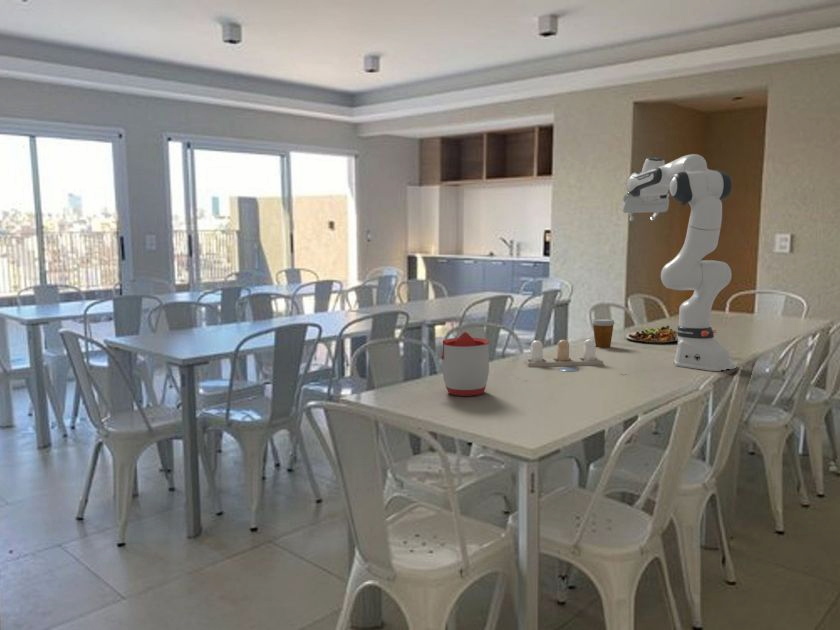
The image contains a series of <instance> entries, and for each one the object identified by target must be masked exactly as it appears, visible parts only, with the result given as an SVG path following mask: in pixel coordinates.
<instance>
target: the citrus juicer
mask: <svg viewBox="0 0 840 630" xmlns="http://www.w3.org/2000/svg"><path fill="white" fill-rule="evenodd" d="M489 345H490V340H489V339H486V338H481V337H472V336H471V334H469V333H468V332H466V331H464V332H463V333H462V334H460V335H459V337H455V338H454V337H453V338H452V337H451V338H446V339H443V340H442V350H440V351H438V352H437V354H436V356H435V359H440V358H441V360H442V361H441V362H442V363H441V367H442V369H441V370H442V375H443V376H442V377H443V381H444V384H445V389H446V391H447V392H448V394H450V395H453V396H454V395H459V396H458V397H460V396H461V397H467V396H470V397H471V396H473V395H478V396H480V395H481V394H483V393H484V392H485V391H486V390H485V389H486V387H487V383H488V378H489V374H490V373H489V371H490V370H489V369H490V368H489V367H490V351H489V349H490V347H489Z"/></svg>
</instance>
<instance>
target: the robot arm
mask: <svg viewBox="0 0 840 630" xmlns="http://www.w3.org/2000/svg"><path fill="white" fill-rule="evenodd" d="M707 163H708V162H707V161H706V159H705V158H704V156H702V155H700V154H697V153H692V154H686V155H684V156H681V157H679V158H676V159H674V160H672V161H670V162H668V163H665V159H664V158H663V157H659V156H648V157H646V159H645V160H644V163H643V166H642V169H641V172H638V171H636V172H635V171H634V172H633V173H631V174H630V175H629V177H628V178H627V180H626V190H627V193H625V194H624V195H623V199H622V204H621V211H622V212H623V213H624V214H628V215H629V221H630V222H634V221H635V216H634V213H636V214H638V213H639V214H641V213H653V214H652V215H650V221H653V222H654V221H655V220H656V217H657V216H658V215H659V213H666V212H668V211H669V210H668V209H669V205H670V199H669V197H671V198H673V200H674V201H676V202H678V203H680V204H681V205H682V206H683V207H684V206H686V205H688V204H689V206H690V214H689V219H688V224H687V230H686V234H685V239H684V243H683V245H682V248H681V249H680V251H679V252H678V253H677V255H676V256H675V257H674V258H673V259H672V260H670V261H668V262H667V263H666V264H665V265H664V266H663V268H662V269H661V272H660V279H661V283H662V285H663V286H664V287H665V288H666V289H669V290H675V291H693V294H692V295H691V296H690V298H688V299H687V300H685V301H683V302H682V303H681V304H680V306H679V308H678V309H679V310H678V325H677V331H676V332H677V335H678V341H677V345H676V346H677V347H676V351H675V356H674V358H673V363H674V364H675V365H674V366H675V367H681V368H689V369H694V370H695V369H697V370H702V371H709V372H711V371H712V372H721V370H724V371H727V370H726V369H730V370H734V369H736V368H737V363H734V362H731V358H730V357H731V356H730V353H729V350H728V349H727V348H726V347H725V346H724V345H723V344H721V343H720V342H719V340H717V339H716V338H715V334H716V333H717V331H718V330H717V329H714V330H713V328H712V327H711V318H712V317H711V315H712V307H713V304H714V302H715V300H716V298H717V296H718V294H719V293H720V292H721V291H722V290H723V289H725V288H726V287H727V286H728V285H729V284H730V282H731V280H732V270H731V267H730V266H729V264H728V263H726V262H725V261H719V260H713V259H712V260H711V259H707V260H703V259H704V258H705V257H706V256H707V255H709V254H711V253H712V252H714V251H715V250H716V248H718V245H719V244H718V243H719V239H720V233H721V228H722V221H723V204H722V203H723V202H722V201H723V200H726V199H727V198H729V196H730V195H731V193H732V190H733V180H732V178H731V176H730V175H729V174H728V173H727V172H724V171H721V170H720V169H717V168H714V169H709V168H708V164H707Z"/></svg>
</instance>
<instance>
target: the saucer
mask: <svg viewBox="0 0 840 630" xmlns="http://www.w3.org/2000/svg"><path fill="white" fill-rule="evenodd" d="M556 370H557V371H558V372H563V373H564V372H565V373H576V372H579V371H580V368H577V367H572V366H562V367H557V369H556Z"/></svg>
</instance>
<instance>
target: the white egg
mask: <svg viewBox="0 0 840 630" xmlns="http://www.w3.org/2000/svg"><path fill="white" fill-rule="evenodd" d="M543 348H544V346H543V343H542V341H541V340H533V341H532V342H531V344H530V359H531V362H543V359H544V356H543V355H544V349H543Z"/></svg>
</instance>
